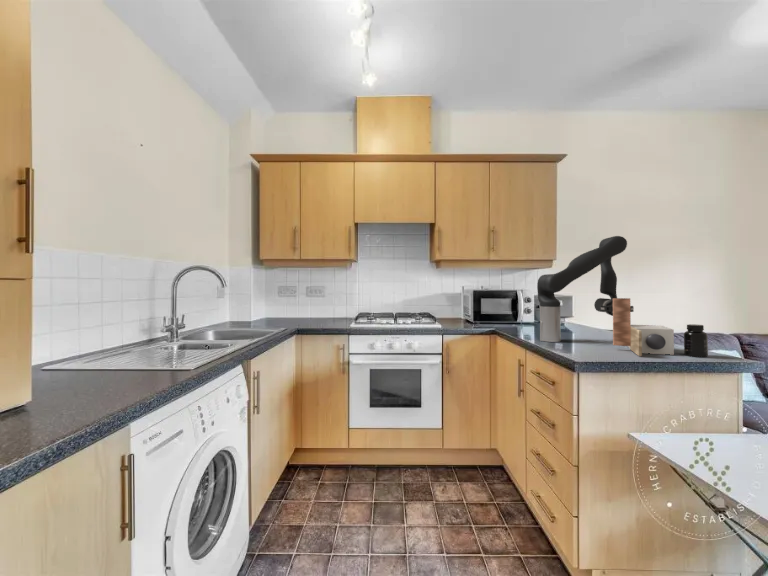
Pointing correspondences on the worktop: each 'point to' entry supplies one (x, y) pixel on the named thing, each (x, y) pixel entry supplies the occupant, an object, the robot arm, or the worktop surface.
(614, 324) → the wooden block
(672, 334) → the housing
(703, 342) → the supplement bottle
